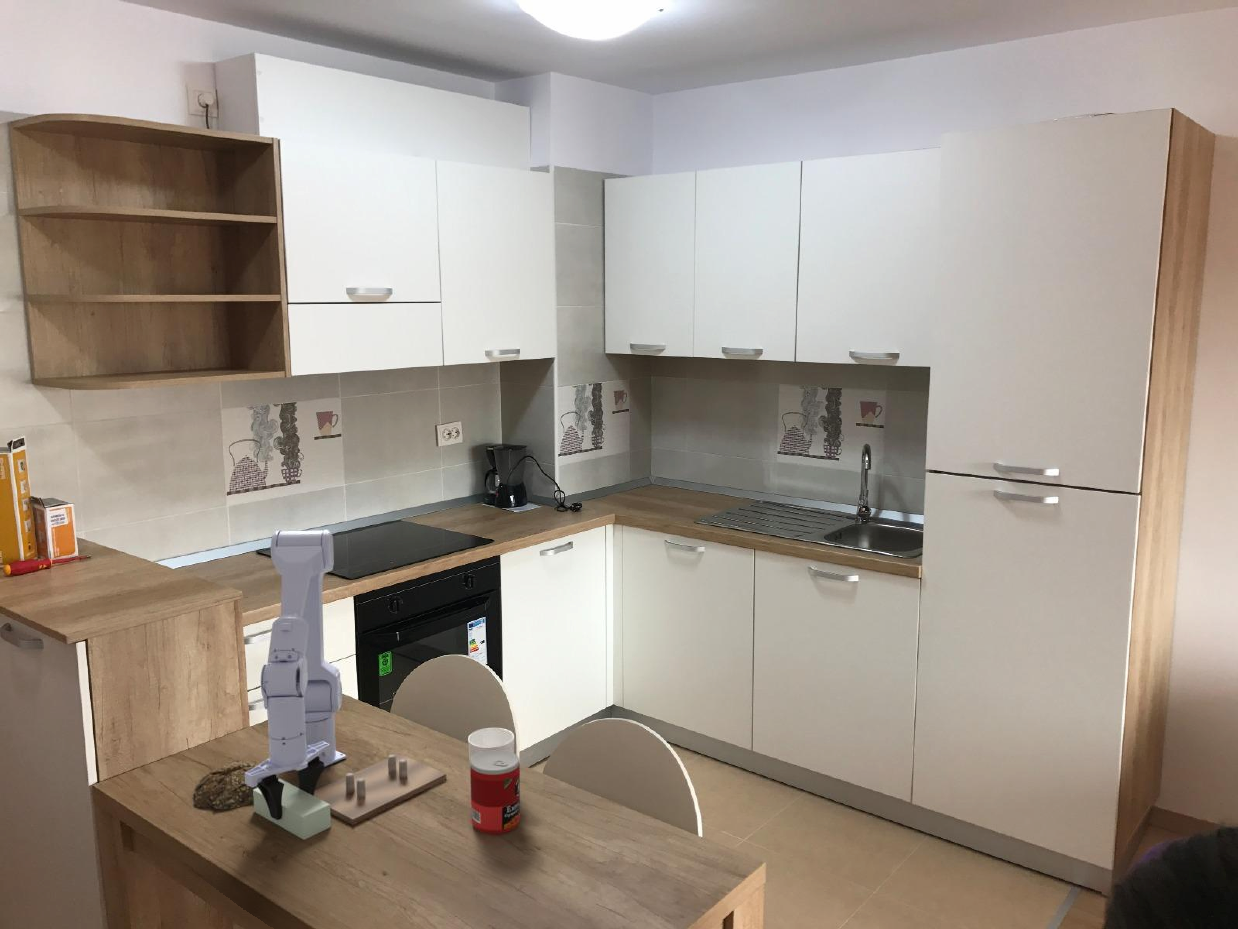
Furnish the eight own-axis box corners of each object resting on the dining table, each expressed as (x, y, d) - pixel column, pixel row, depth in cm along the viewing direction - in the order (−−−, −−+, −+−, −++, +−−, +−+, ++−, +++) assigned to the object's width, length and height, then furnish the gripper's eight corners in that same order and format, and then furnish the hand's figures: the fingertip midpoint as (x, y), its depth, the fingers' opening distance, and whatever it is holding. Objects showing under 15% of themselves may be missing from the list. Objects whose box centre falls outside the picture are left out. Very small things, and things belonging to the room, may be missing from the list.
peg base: (305, 800, 168) (304, 778, 167) (398, 758, 183) (398, 738, 182) (353, 825, 160) (352, 802, 159) (446, 779, 175) (445, 758, 174)
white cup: (492, 807, 165) (491, 751, 164) (459, 793, 170) (458, 739, 168) (524, 789, 172) (523, 735, 170) (491, 776, 176) (490, 723, 175)
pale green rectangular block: (254, 812, 164) (253, 789, 163) (281, 800, 168) (279, 778, 167) (304, 840, 155) (302, 817, 155) (331, 827, 159) (329, 804, 158)
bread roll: (263, 770, 179) (261, 744, 178) (280, 799, 168) (278, 772, 168) (187, 788, 172) (185, 761, 171) (200, 819, 162) (198, 791, 161)
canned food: (512, 838, 156) (511, 773, 154) (464, 832, 158) (462, 768, 156) (526, 813, 163) (525, 751, 162) (480, 808, 165) (479, 747, 163)
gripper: (260, 755, 151) (265, 837, 153) (340, 724, 162) (343, 801, 164) (235, 742, 155) (240, 822, 157) (314, 713, 167) (318, 788, 169)
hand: (291, 810), depth 161 cm, fingers closed on pale green rectangular block, 5 cm apart
